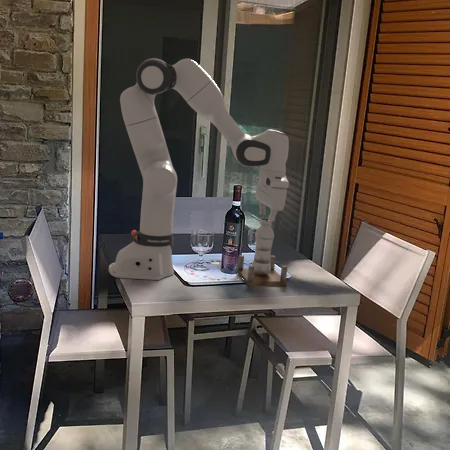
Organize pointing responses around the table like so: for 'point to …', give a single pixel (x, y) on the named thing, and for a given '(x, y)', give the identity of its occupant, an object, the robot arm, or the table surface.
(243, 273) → the peg stand
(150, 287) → the table surface
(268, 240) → the plastic bottle
